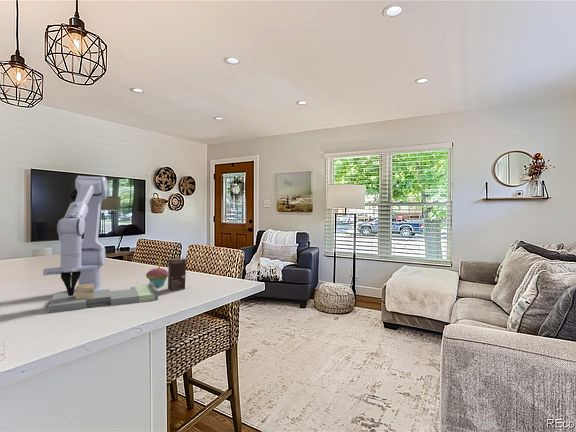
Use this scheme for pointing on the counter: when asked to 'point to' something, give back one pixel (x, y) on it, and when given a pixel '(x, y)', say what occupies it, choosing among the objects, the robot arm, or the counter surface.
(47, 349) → the counter surface
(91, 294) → the block
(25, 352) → the counter surface
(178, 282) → the box
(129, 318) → the counter surface
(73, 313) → the counter surface
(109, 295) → the track
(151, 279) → the cupcake
